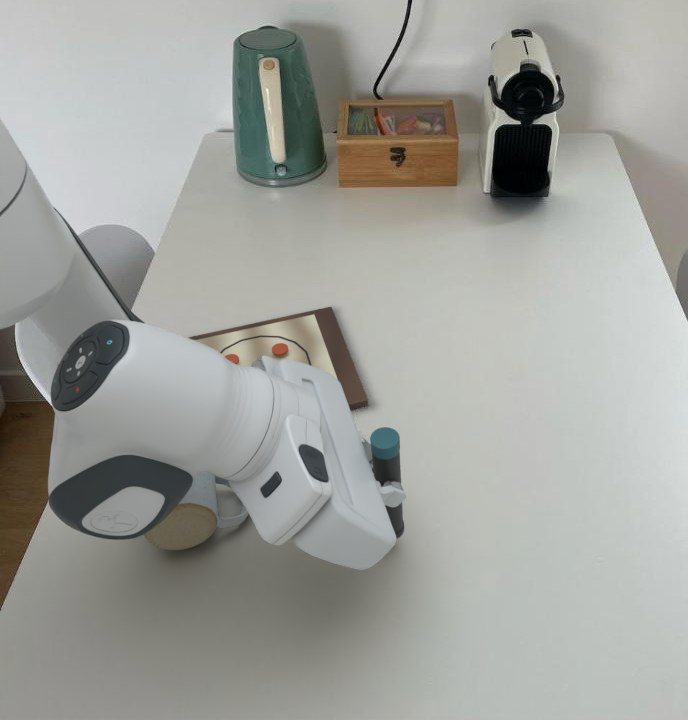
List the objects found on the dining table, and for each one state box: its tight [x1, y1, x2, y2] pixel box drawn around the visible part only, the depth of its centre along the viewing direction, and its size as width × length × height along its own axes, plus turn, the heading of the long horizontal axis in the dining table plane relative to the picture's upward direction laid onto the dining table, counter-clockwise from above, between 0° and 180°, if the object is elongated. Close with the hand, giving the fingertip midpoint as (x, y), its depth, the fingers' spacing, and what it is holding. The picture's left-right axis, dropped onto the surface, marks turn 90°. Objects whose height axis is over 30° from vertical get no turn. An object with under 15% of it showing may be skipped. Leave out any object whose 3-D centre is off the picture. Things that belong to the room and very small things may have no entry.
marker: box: [369, 426, 405, 540], centre depth 73 cm, size 3×3×13 cm
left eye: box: [225, 354, 239, 364], centre depth 97 cm, size 2×2×1 cm
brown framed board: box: [187, 306, 369, 411], centre depth 97 cm, size 22×18×1 cm
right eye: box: [272, 343, 288, 356], centre depth 98 cm, size 2×2×1 cm
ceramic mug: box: [143, 472, 249, 551], centre depth 80 cm, size 11×8×8 cm
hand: (393, 480), depth 73 cm, fingers closed on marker, 2 cm apart
